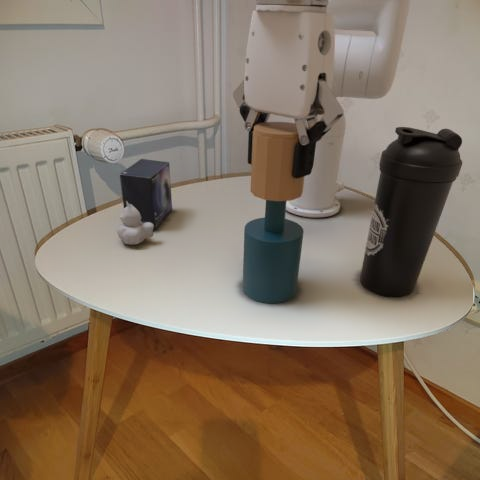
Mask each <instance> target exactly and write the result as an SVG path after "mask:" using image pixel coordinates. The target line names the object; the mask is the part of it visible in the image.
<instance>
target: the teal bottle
mask: <svg viewBox="0 0 480 480" xmlns="http://www.w3.org/2000/svg"><path fill="white" fill-rule="evenodd" d="M286 202H287V201H271V200H265V211H264V217H258V218H254V219H252V220H250V221H248V222H247V223H246V224H245V226H244V229H243V230H244V233H243V262H242V291H243V293H244V294H245V296H246V297H248V298H249V299H251V300H253V301H256V302H259V303H264V304H280V303H285V302H288V301H289V300H291V299H293V298H294V296H296V294H297V288H298V282H299V281H298V280H299V272H300V265H301V256H302V249H303V241H304V240H303V239H304V233H305V232H304V231H305V230H304V228H303V226H302V225H301V224H299V223H298V222H296V221H294V220H291V219H288V218H286V212H287V210H286Z"/></svg>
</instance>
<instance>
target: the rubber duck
mask: <svg viewBox="0 0 480 480" xmlns="http://www.w3.org/2000/svg"><path fill="white" fill-rule="evenodd" d="M126 204H127V207H125V208H124V207H123V210H122V213H121V214H120V215H119V217H118V218H119V219H120V220H121V224H120V225H119V226H118V227H117V230H116V233H117V236H118V239H120V241H121V242H122V243H124V244H126V245H129V246H134V245H135V246H136V245H139V244H141V243H143V242H144V241H145V239H151V238H153V237H154V230H153V228H154V225H153V224H152V223H149V222H146V223H142V222H141V221H140V220H141V215H140V213H139V211H138V210H137V209H136V208H135V207H134V206H133V205H132V204H129V203H128V202H127V201H126Z"/></svg>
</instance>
